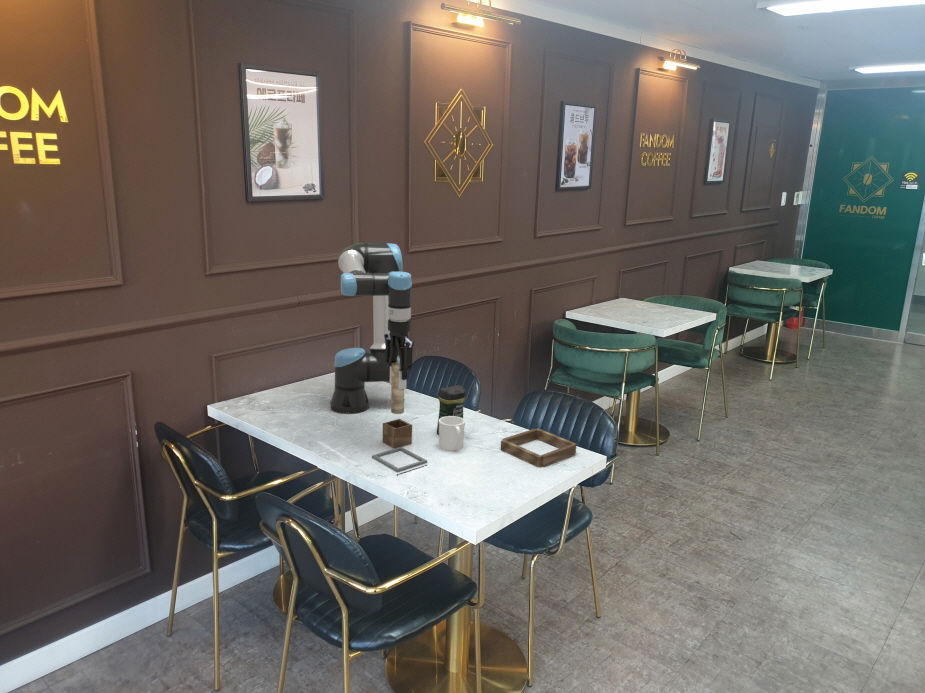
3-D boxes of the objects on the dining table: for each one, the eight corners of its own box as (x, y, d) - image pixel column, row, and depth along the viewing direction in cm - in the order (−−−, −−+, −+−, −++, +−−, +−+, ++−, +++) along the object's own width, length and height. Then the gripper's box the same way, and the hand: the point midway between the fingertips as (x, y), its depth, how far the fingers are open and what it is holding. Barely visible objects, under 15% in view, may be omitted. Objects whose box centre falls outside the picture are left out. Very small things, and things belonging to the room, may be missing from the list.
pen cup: (382, 444, 244) (382, 423, 242) (399, 440, 249) (399, 418, 247) (394, 451, 239) (395, 429, 237) (411, 446, 244) (412, 424, 242)
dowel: (388, 411, 241) (389, 363, 237) (398, 408, 244) (399, 361, 240) (396, 414, 238) (397, 366, 234) (406, 412, 241) (407, 364, 237)
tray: (371, 460, 231) (371, 455, 231) (401, 451, 239) (401, 446, 239) (397, 475, 221) (397, 470, 221) (427, 465, 229) (427, 460, 229)
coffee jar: (446, 442, 249) (448, 392, 244) (433, 435, 255) (434, 386, 250) (467, 436, 255) (469, 387, 250) (454, 429, 261) (455, 381, 256)
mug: (434, 445, 246) (434, 417, 243) (457, 442, 249) (458, 414, 247) (445, 457, 236) (446, 428, 233) (470, 454, 239) (471, 425, 237)
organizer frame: (498, 449, 245) (499, 439, 244) (536, 436, 257) (536, 427, 256) (540, 468, 231) (540, 458, 230) (577, 453, 243) (578, 444, 243)
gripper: (374, 315, 236) (374, 381, 243) (406, 326, 224) (404, 395, 230) (392, 312, 241) (391, 377, 248) (424, 323, 229) (422, 391, 235)
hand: (397, 386), depth 239 cm, fingers closed on dowel, 4 cm apart
